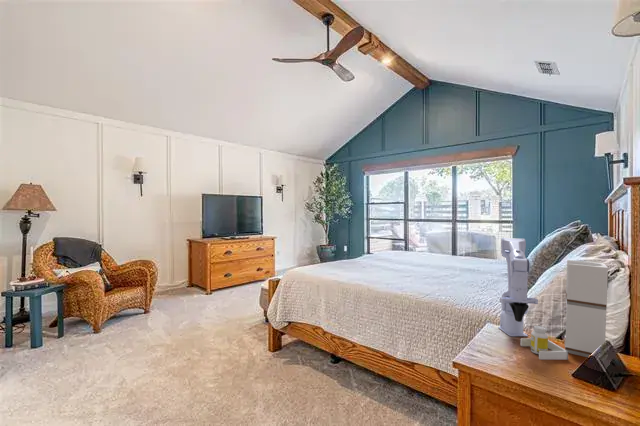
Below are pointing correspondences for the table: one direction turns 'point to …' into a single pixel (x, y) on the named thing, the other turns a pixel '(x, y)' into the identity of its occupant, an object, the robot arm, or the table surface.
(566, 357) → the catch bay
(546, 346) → the supplement bottle
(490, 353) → the table surface
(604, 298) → the mini fridge
